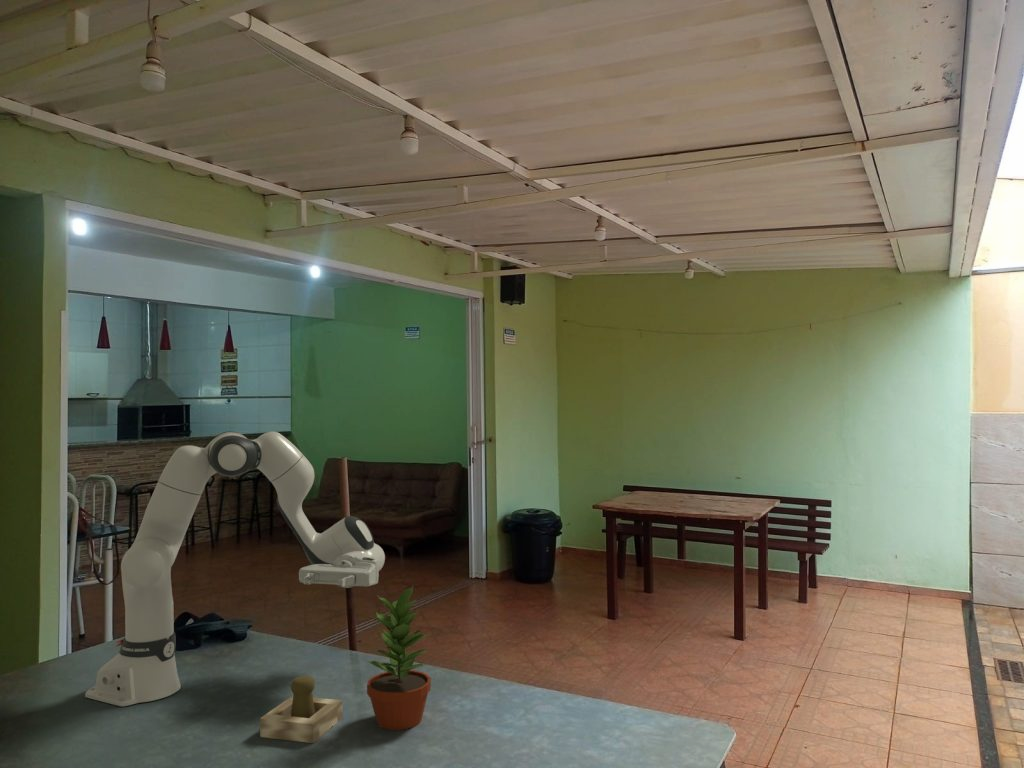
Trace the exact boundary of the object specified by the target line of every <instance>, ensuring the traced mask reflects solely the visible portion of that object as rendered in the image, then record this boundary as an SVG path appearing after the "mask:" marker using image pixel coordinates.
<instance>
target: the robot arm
mask: <svg viewBox="0 0 1024 768" xmlns="http://www.w3.org/2000/svg"><path fill="white" fill-rule="evenodd" d="M254 469H257V470H259V471H260V472H261V473H262V474H263V475H264V476H265V478H267V479H268V481H269V482H270V483H271V484H272V486H273V487H274V488H275V491H276V494H277V498H276V506H277V508H278V510H279V513H281V515H282V517H283V519H284V520H285V522H286V524H287V525H288V527H289V528H290V530H291V531H292V533H293V535H294V536H295V538H296V539H297V540H298V542H299V544H300V546H301V547H302V548H303V551H304V553H305V556H306V558H307V560H308V562H309V563H310V564H309V565H307V566H303V567H301V568H300V569H299V570H298V581H299V582H300V583H301V584H304V585H308V586H309V585H312V584H316V585H318V584H319V585H321V584H322V585H335V586H337V587H341V588H344V589H346V588H347V589H349V588H353V587H370V586H374V585H377V584H378V583H379V576H380V575H379V571H381V570H382V568H383V567H384V565H385V560H386V555H385V552H384V549H383V548H382V547H381V546H380V545H379V544H377V543H375V541H374V536H373V534H372V531H371V529H370V528H369V526H368V524H367V523H366V522H365V521H364V520H362V519H360V518H359V517H356V516H352V515H346V516H345V517H343V518H342V519H341V520H339V521H337V522H335V523H334V524H333V525H332V526H330V527H329V528H327V529H325V530H324V531H323V532H321V533H320V532H317V531H316V530H315V528H314V526H313V525H312V524H311V522H310V520H309V519H308V517H307V515H306V514H305V513H304V510H303V506H302V505H303V501H304V500H305V498H306V497H307V495H308V494H309V492H310V490H311V489H312V486H313V485H314V481H315V469H314V467H313V465H312V464H311V462H310V461H309V460H308V458H306V456H305V455H304V454H303V453H302V451H300V449H298V447H296V445H295V444H294V443H292V442H291V441H290V440H289V439H288V438H286V437H285V436H284V435H283V434H281V433H279V432H277V431H268V432H265V433H263V434H261V435H260V436H258V437H257V438H255V439H249V438H248V437H246V436H245V435H243V434H242V433H239V432H238V431H230V430H229V431H224V432H221V433H219V434H217V435H216V436H214V437H213V438H212V439H211V440H209V441H208V442H206V443H205V444H203V446H202V447H199V446H196V445H181V446H180V447H178V448H177V449H176V450H175V451H174V452H173V454H172V456H171V457H170V458H169V459H168V461H167V463H166V465H165V466H164V468H163V471H162V473H160V476H159V479H158V481H157V483H156V486H155V487H154V490H153V493H152V495H151V497H150V499H149V501H148V504H147V507H146V509H145V511H144V515H143V518H142V521H141V522H140V527H139V529H138V531H137V534H136V537H135V539H134V541H133V543H132V545H131V546H130V548H128V550H126V552H125V553H124V555H123V556H122V559H121V563H120V572H121V583H122V594H123V600H124V610H125V611H124V613H125V619H124V621H125V622H124V623H125V628H124V630H125V631H124V632H125V633H124V634H125V636H124V637H123V638H122V639H121V640H118V641H116V642H115V644H116V645H115V646H116V647H119V646H120V649H119V652H118V653H117V654H115V656H113V657H112V658H111V659H110V660H108V662H106V663H105V664H104V665H102V666H101V668H100V669H99V670H98V672H97V675H96V680H95V685H94V686H92V687H90V688H89V689H87V691H86V692H85V693H84V697H85V698H86V699H87V698H88V699H91V700H94V701H99V702H103V703H107V704H111V705H114V706H118V707H127V706H132V705H134V704H139V703H147V702H152V701H157V700H160V699H163V698H164V699H165V698H167V697H169V696H172V695H174V694H175V693H177V692H178V691H179V690H180V689H181V688H182V685H181V682H180V679H179V674H178V670H177V669H178V668H177V663H176V656H175V651H176V646H177V645H176V632H175V630H174V627H175V626H174V625H175V624H174V621H175V620H174V618H175V617H174V597H173V588H172V576H171V575H172V573H171V572H172V566H173V565H174V563H175V561H176V559H177V556H178V553H179V552H180V551H179V550H180V548H181V546H182V543H183V540H184V539H185V536H186V533H187V532H188V528H189V525H190V523H191V521H192V519H193V515H194V514H195V511H196V509H197V507H198V504H199V502H200V499H201V497H202V494H203V492H204V490H205V487H206V485H207V483H208V481H209V479H210V478H211V477H212V476H213V475H214V474H216V473H218V474H219V475H222V476H223V477H230V478H231V477H238V476H241V475H243V474H245V473H247V472H249V471H250V472H251V471H252V470H254Z"/></svg>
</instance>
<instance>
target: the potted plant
mask: <svg viewBox="0 0 1024 768" xmlns="http://www.w3.org/2000/svg"><path fill="white" fill-rule="evenodd" d="M413 588H414V585H411V587H410V588H406V589H405V590H403V591H402V592H401V594H400V596H399V598H398V599H397V600H395V601H393V602H392V603H391V601H389V600H388V599H386V598H385V597H379V595H378V594H376V596H377V597H378V599H379V600H380V601H381V602H382V603H383V605H384V607H386V609H387V610H388V611H389V612H390V615H387V614H385V613H380V614H379V613H378V612H375V614H376V617H375V618H374V616H372V618H373V619H374V620H376V621H378V622H379V623H381V624H382V625H384V627H385V628H387V630H388V631H386V630H385V628H383V630H382V629H381V628H380V627H379V626H378V625H377V624H376V623H375V624H374V625H376V627H377V628H378V630H380V631H381V632H382V633H381V637H382V639H383V641H384V644H385V645H386V647H387V649H388V652H387V651H384V650H381V649H377V650H375V652H377V653H379V654H381V655H384V656H386V657H388V658H389V662H380V661H377V660H371V661H368V660H366V662H367V663H369V664H372V665H373V666H375V667H377V668H379V669H381V670H383V671H384V672H382V673H378V674H376V675H374V676H372V677H370V679H369V680H367V683H366V695H368V698H370V702H371V705H372V709H373V714H374V716H375V720H376V724H377V723H378V724H377V726H378V727H380V726H381V727H382V729H384V728H386V729H385V730H387V729H391V730H390V731H403V730H407V729H408V728H409V729H411V728H414V727H416V726H418V725H419V724H420V723H421V722H422V719H423V716H424V711H425V707H426V702H427V700H428V694H429V693H430V691H432V690H431V689H432V688H431V686H432V685H431V680H432V679H431V677H430V675H429V674H428V673H426V672H423V671H419V670H413V669H417V668H422V667H425V664H424V663H417V664H416V663H415V664H414V662H415V659H416V658H417V657H418V656H420V655H422V654H425V653H427V652H428V651H430V649H428V650H426V649H420V650H417V651H414V650H415V649H413V648H412V651H410V652H407V653H406V649H408V648H409V647H411V646H413V645H414V644H416V643H417V642H419V641H420V640H422V639H424V638H425V637H427V636H429V634H426V635H425V634H423V633H422V634H420V633H421V632H422V631H424V630H417V631H415V632H413V633H411V634H409V633H410V631H411V624H412V623H413V620H415V618H416V616H417V613H418V612H419V610H418V609H416V610H414V612H410V610H411V609H412V607H413V606H414V604H415V602H416V598H415V599H413V600H411V601H410V599H411V596H412V593H413V591H414V590H413ZM381 727H380V728H381ZM402 729H403V730H402Z"/></svg>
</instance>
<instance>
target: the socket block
mask: <svg viewBox="0 0 1024 768" xmlns="http://www.w3.org/2000/svg"><path fill="white" fill-rule="evenodd" d="M292 701H293V695H291V696H290V697H288V698H287V699H286V700H284V701H283V702H281V703H280V704H278V705H277V706H276V707H274V708H273V709H271V710H269V712H267V713H266V714H264V715H263V716H262V717H260V718H259V720H260V721H259V737H260V738H267V739H277V740H285V741H292V742H301V743H308V744H314V743H316V742H317V741H318V740H320V738H322V737H323V736H324V735H325V734H326V733H327V732H329V730H331V729H332V728H333V727H334V726H335V725H336V724H337V722H338V721H339V720H340V719H341V718H342V717H344V716H343V715H344V712H343V710H344V709H343V707H344V706H343V705H344V704H343V703H344V701H343V700H342V699H333V698H321V697H314V696H313V701H314V709H315V714H314V715H313V716H311V717H310V718H301V717H292V716H291V709H292ZM342 719H343V718H342ZM342 719H341V720H342ZM341 720H340V721H341ZM340 721H339V722H340ZM339 722H338V723H339ZM332 726H333V727H332ZM331 727H332V728H331ZM330 728H331V729H330Z"/></svg>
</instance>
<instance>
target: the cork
mask: <svg viewBox="0 0 1024 768" xmlns="http://www.w3.org/2000/svg"><path fill="white" fill-rule="evenodd" d="M315 687H316V683H315V679H314V678H313V677H312V676H310V675H300V676H297V677H294V678H293V680H292V681H291V683H290V689H291V693H292V694H293V695H292V696H293V701H292V709H291V716H292V717H301V718H310V717H311V716H313V715H314V714H315V709H314V701H313V697H314V696H313V695H314V693H313V691H314V689H315Z"/></svg>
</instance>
